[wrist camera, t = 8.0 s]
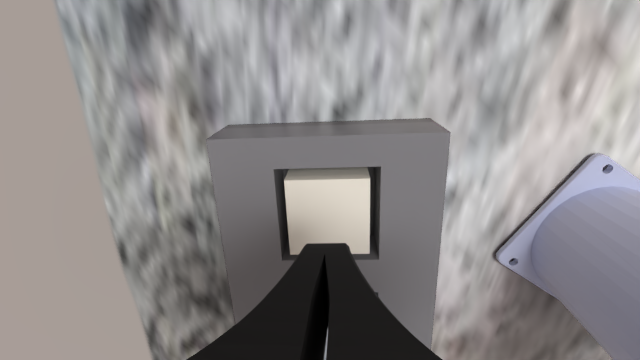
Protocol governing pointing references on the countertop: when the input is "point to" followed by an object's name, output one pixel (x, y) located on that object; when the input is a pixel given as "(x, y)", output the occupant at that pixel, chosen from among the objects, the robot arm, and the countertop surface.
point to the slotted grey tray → (385, 205)
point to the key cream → (328, 207)
